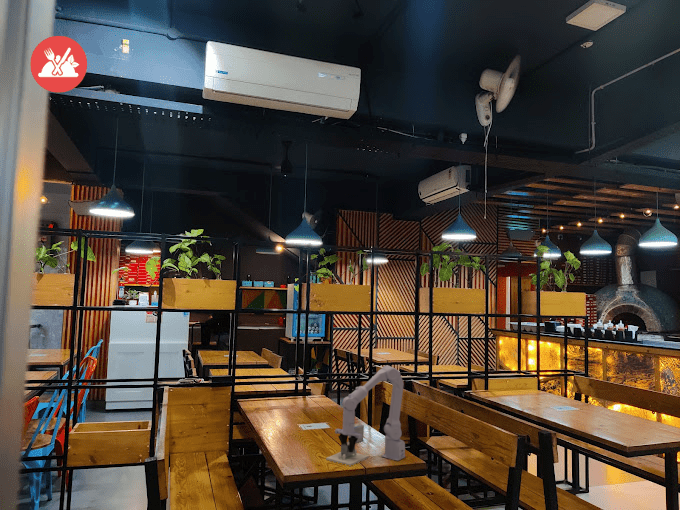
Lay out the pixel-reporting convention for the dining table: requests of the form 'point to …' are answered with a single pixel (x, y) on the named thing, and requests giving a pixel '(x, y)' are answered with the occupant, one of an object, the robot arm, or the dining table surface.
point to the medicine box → (358, 431)
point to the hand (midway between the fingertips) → (347, 451)
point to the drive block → (346, 449)
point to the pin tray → (347, 458)
